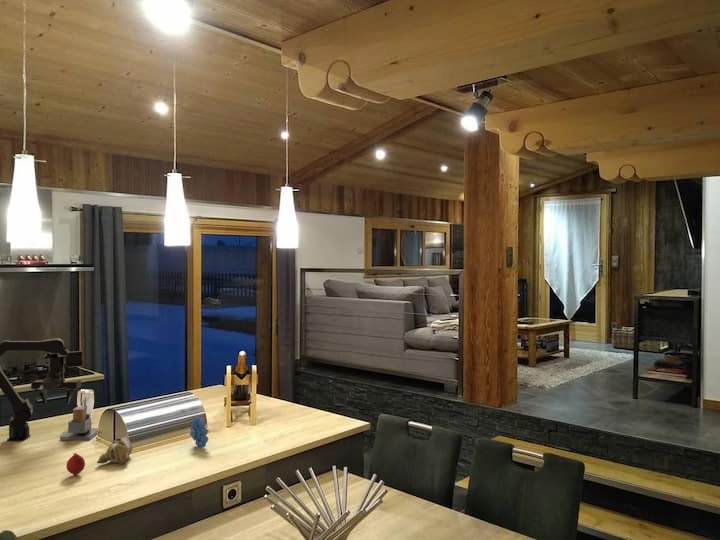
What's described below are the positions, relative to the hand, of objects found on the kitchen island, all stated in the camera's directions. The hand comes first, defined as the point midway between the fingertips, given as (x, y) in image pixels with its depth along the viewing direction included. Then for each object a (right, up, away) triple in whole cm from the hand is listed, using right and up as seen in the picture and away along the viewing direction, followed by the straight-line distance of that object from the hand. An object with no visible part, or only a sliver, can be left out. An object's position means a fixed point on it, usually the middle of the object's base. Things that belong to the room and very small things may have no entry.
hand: (56, 404), depth 248 cm
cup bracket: (+11, -13, -1) cm, 17 cm away
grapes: (+64, -15, -13) cm, 67 cm away
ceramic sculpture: (+39, -15, -30) cm, 51 cm away
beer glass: (+5, -13, +17) cm, 22 cm away
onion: (+30, -15, -45) cm, 56 cm away
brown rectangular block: (+11, -10, -2) cm, 15 cm away
